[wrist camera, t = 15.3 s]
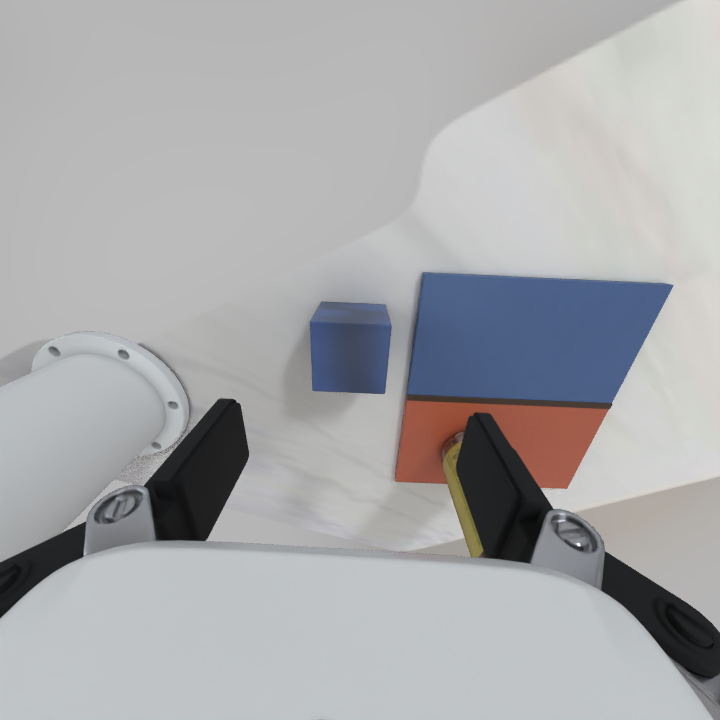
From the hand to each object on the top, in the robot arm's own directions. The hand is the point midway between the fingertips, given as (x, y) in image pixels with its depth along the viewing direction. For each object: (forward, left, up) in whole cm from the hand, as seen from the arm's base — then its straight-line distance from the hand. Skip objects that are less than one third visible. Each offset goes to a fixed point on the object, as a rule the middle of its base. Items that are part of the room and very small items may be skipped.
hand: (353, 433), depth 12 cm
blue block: (0, 0, -12) cm, 12 cm away
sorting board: (+14, -6, -12) cm, 19 cm away
